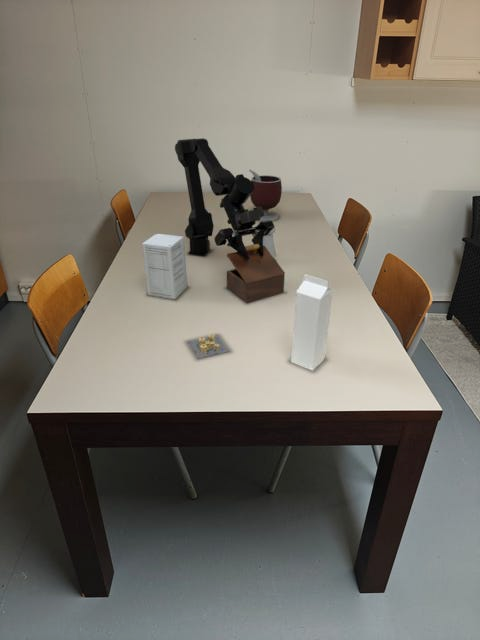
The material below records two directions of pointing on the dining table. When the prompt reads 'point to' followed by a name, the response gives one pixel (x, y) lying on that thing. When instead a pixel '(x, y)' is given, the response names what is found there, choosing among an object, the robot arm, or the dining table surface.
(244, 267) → the tea lid
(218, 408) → the dining table surface
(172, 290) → the supplement box
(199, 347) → the dice set
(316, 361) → the milk
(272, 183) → the mate gourd
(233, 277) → the tea box
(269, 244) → the salt shaker
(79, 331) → the dining table surface
